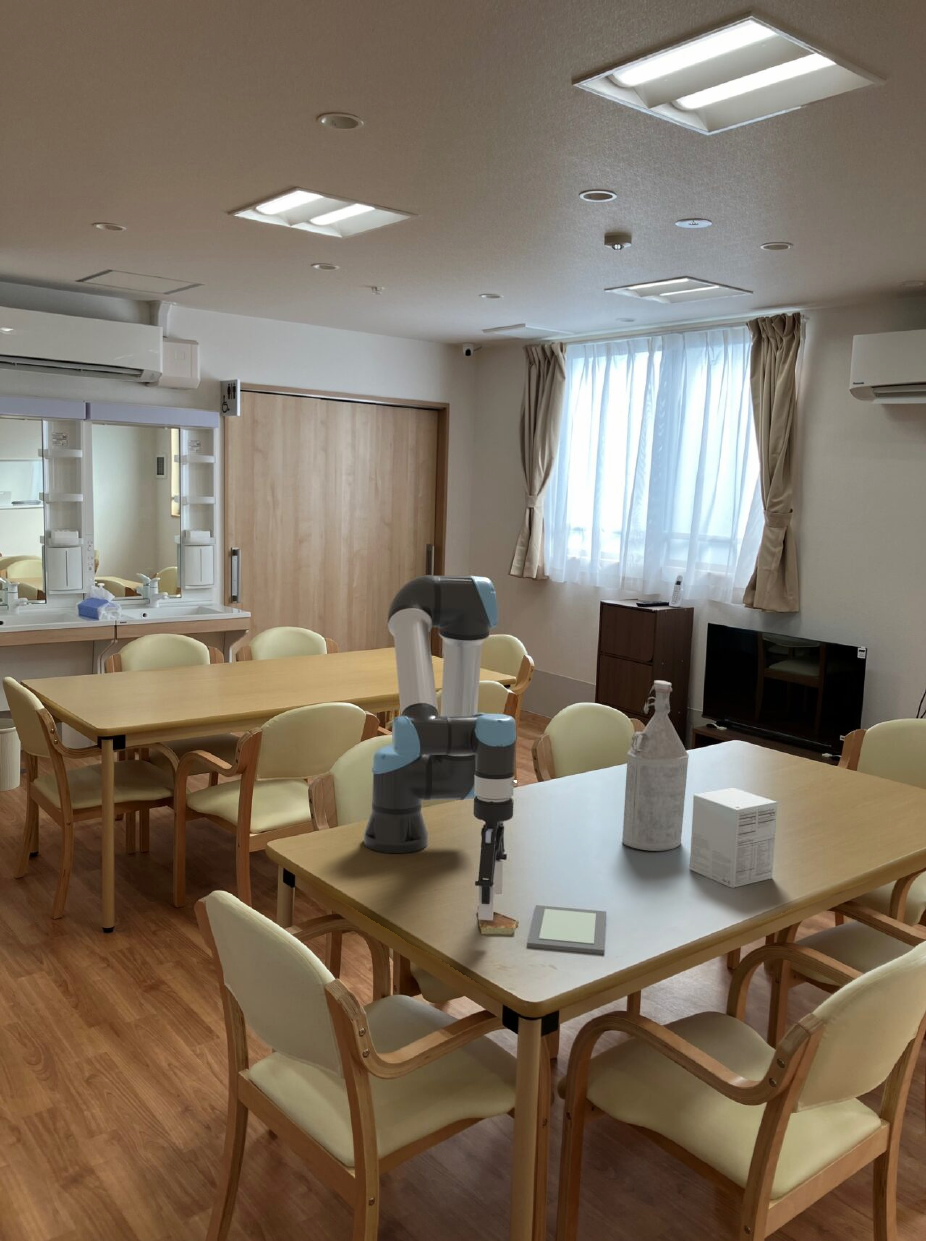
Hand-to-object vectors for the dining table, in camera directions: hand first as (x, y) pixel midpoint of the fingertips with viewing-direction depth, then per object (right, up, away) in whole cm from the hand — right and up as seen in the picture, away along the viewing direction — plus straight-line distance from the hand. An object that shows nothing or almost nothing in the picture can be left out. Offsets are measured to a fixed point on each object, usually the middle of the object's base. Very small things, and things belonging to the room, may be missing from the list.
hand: (490, 905), depth 193 cm
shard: (0, -5, +1) cm, 5 cm away
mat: (+15, -5, -1) cm, 16 cm away
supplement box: (+54, -2, +33) cm, 64 cm away
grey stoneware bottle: (+40, 0, +52) cm, 66 cm away
